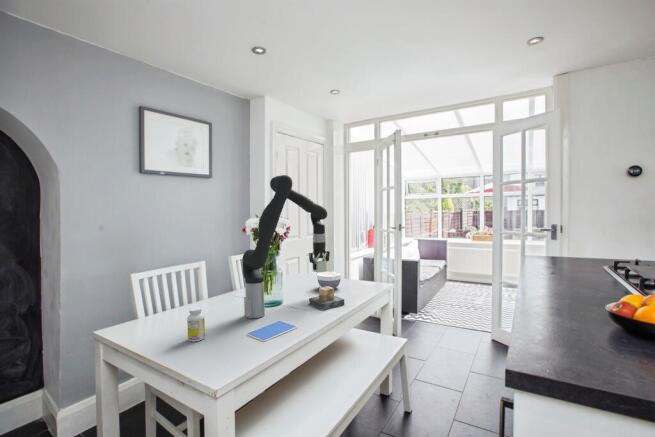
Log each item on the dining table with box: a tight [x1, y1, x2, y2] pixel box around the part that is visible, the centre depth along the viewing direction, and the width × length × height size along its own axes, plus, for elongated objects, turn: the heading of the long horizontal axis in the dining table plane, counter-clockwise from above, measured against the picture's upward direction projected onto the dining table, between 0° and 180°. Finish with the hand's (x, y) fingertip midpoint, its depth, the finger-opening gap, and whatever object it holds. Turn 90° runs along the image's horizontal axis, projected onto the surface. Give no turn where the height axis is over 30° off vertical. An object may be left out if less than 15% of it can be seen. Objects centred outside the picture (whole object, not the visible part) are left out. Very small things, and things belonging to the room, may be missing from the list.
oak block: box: [318, 286, 335, 301], centre depth 179 cm, size 6×6×6 cm
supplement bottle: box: [186, 306, 206, 343], centre depth 135 cm, size 7×7×13 cm
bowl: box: [316, 271, 342, 290], centre depth 213 cm, size 16×16×10 cm
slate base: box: [309, 295, 345, 310], centre depth 179 cm, size 14×14×3 cm
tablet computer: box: [246, 320, 298, 343], centre depth 142 cm, size 19×13×1 cm, turn 140°
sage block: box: [312, 259, 328, 274], centre depth 193 cm, size 6×6×6 cm
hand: (319, 269), depth 193 cm, fingers closed on sage block, 6 cm apart
